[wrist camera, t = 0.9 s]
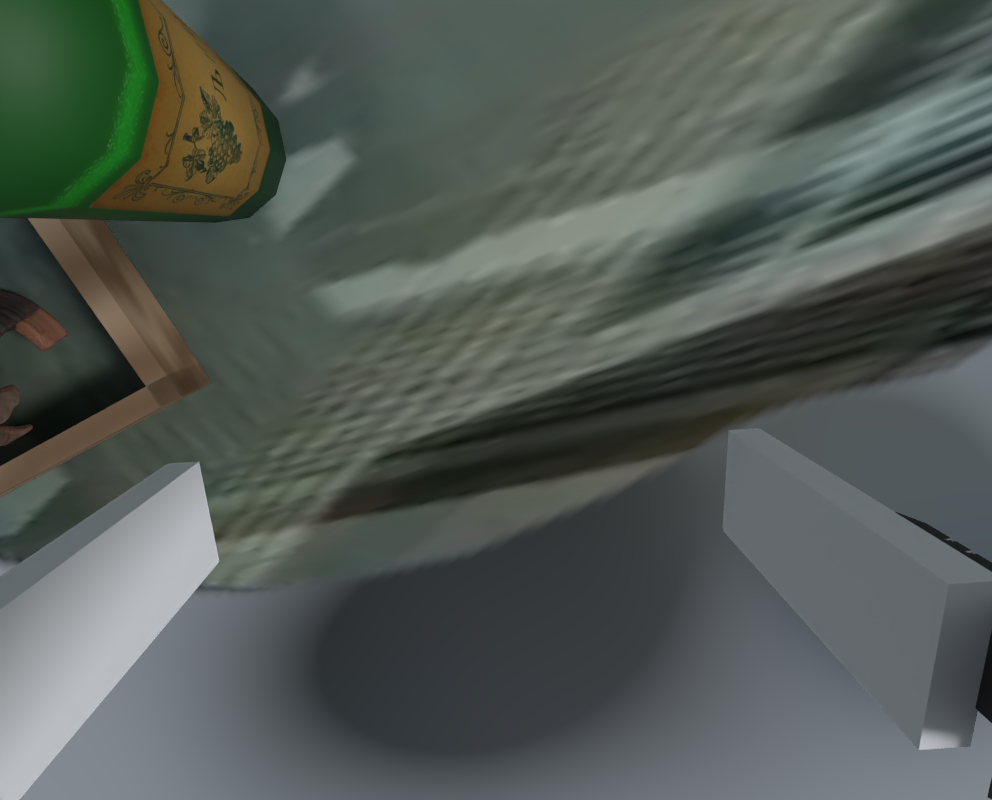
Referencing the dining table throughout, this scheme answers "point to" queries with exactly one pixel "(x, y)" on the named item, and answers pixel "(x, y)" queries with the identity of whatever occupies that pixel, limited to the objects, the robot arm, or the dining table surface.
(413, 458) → the dining table surface
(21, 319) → the pottery mug
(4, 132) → the bottle
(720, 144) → the dining table surface
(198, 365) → the brown wooden u-shaped piece
